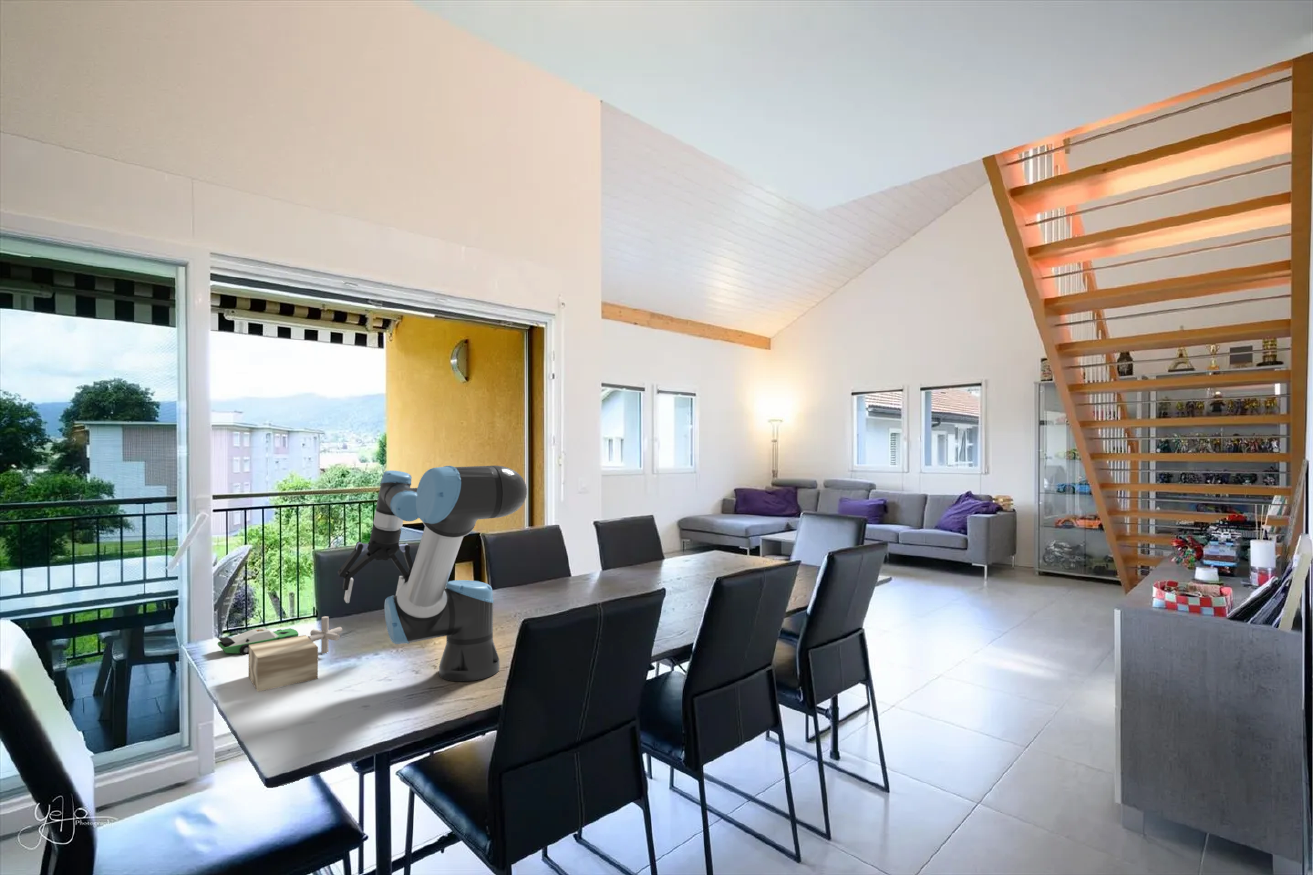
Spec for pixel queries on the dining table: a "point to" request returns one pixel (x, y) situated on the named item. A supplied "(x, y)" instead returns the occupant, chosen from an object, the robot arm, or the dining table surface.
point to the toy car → (253, 639)
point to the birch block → (282, 662)
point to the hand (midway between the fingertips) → (372, 600)
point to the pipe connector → (325, 634)
